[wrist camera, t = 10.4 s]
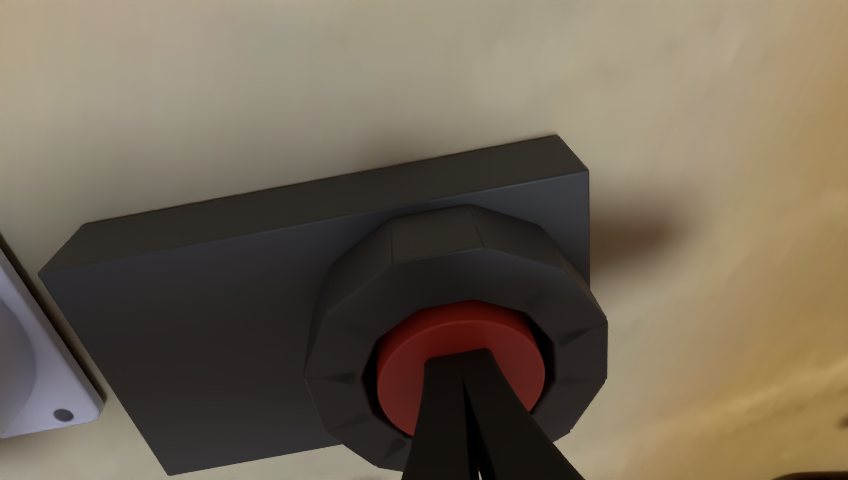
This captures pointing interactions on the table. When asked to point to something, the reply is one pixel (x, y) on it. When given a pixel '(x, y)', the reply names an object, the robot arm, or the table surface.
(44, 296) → the table surface
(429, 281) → the button base
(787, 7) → the table surface
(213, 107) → the table surface
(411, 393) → the button
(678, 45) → the table surface
